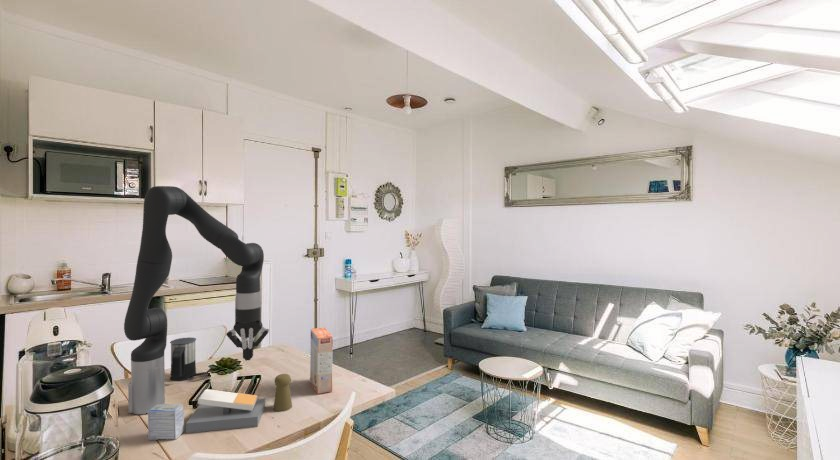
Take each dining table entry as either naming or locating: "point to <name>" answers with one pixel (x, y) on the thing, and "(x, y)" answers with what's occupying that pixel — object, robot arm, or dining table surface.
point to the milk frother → (183, 359)
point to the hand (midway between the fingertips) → (248, 359)
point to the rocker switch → (227, 399)
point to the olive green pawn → (282, 393)
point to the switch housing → (224, 417)
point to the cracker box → (321, 360)
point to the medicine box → (165, 421)
